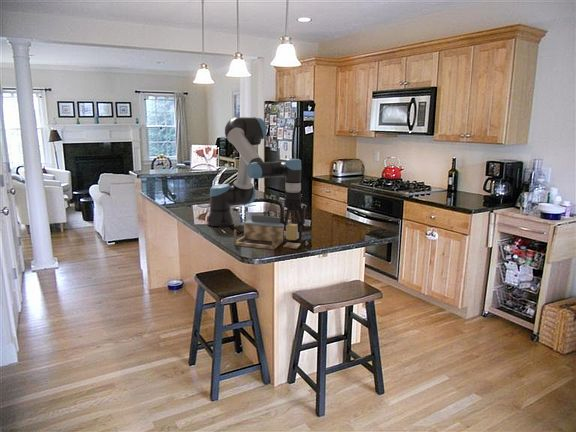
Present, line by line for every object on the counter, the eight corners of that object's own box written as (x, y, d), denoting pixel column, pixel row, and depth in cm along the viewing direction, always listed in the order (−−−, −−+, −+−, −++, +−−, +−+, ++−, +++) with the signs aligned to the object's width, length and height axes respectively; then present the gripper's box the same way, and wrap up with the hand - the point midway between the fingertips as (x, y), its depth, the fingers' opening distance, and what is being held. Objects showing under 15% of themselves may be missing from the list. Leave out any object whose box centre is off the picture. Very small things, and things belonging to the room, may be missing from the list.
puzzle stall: (233, 245, 215) (233, 230, 213) (254, 231, 241) (254, 218, 240) (274, 249, 209) (274, 234, 207) (291, 234, 235) (291, 221, 234)
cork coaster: (283, 247, 213) (283, 246, 212) (287, 243, 219) (287, 242, 219) (296, 248, 211) (296, 247, 210) (300, 244, 217) (300, 243, 217)
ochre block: (286, 239, 212) (286, 225, 211) (289, 237, 217) (289, 223, 215) (295, 240, 211) (295, 226, 210) (297, 237, 215) (298, 224, 214)
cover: (244, 223, 225) (244, 216, 224) (253, 218, 238) (253, 211, 238) (282, 227, 219) (282, 220, 219) (290, 221, 232) (290, 214, 232)
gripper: (273, 191, 208) (273, 238, 213) (308, 193, 203) (307, 241, 208) (278, 189, 215) (277, 234, 220) (312, 191, 210) (311, 237, 215)
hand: (292, 237), depth 214 cm, fingers closed on ochre block, 4 cm apart
